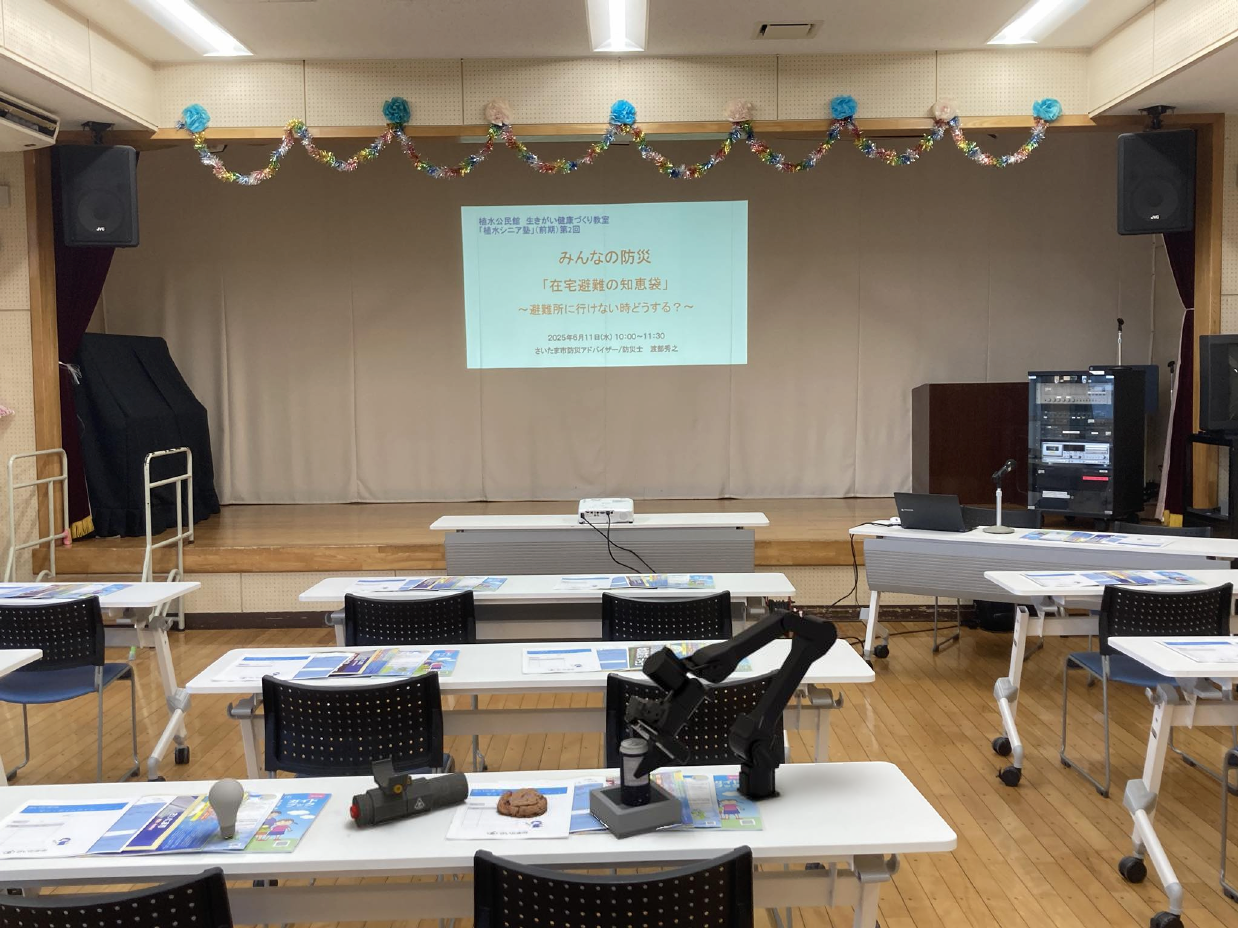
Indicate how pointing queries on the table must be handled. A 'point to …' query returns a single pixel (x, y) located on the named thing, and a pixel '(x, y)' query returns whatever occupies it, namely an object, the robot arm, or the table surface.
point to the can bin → (635, 810)
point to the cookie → (522, 803)
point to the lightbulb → (226, 803)
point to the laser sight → (405, 795)
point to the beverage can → (632, 788)
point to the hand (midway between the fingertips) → (628, 771)
